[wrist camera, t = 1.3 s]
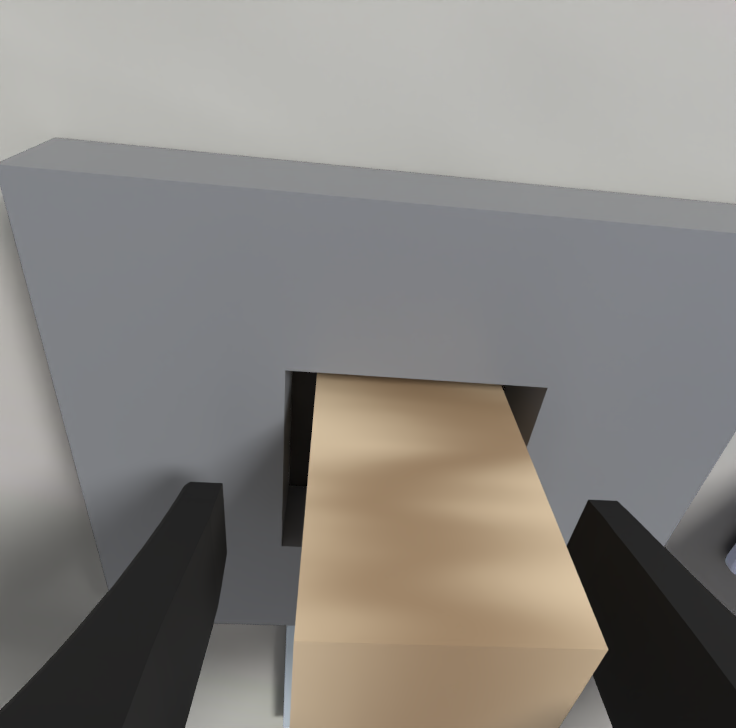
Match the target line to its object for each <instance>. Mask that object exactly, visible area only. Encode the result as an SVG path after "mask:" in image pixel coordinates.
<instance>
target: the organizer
mask: <svg viewBox="0 0 736 728" xmlns="http://www.w3.org/2000/svg"><path fill="white" fill-rule="evenodd" d="M0 187H1V190H2V194H3V198H4V202H5V205H6V209H7V213H8V217H9V220H10V224H11V228H12V232H13V235H14V239H15V243H16V246H17V250H18V254H19V258H20V261H21V265H22V269H23V273H24V276H25V280H26V284H27V288H28V291H29V295H30V299H31V302H32V306H33V310H34V314H35V317H36V321H37V325H38V329H39V332H40V336H41V340H42V344H43V347H44V351H45V355H46V359H47V362H48V366H49V370H50V373H51V377H52V381H53V385H54V388H55V392H56V396H57V400H58V403H59V407H60V411H61V415H62V418H63V422H64V426H65V429H66V433H67V437H68V441H69V444H70V448H71V452H72V456H73V459H74V463H75V467H76V471H77V474H78V478H79V482H80V486H81V489H82V493H83V497H84V500H85V504H86V508H87V512H88V515H89V519H90V523H91V527H92V530H93V534H94V538H95V542H96V545H97V549H98V553H99V556H100V560H101V564H102V568H103V571H104V575H105V579H106V583H107V586H108V590H110V589H111V588H112V586H113V585H114V584H115V583H116V581H117V580H118V579H119V577H120V576H121V575H122V573H123V572H124V571H125V570H126V568H127V567H128V566H129V564H130V563H131V562H132V560H133V559H134V558H135V556H136V555H137V554H138V553H139V551H140V550H141V549H142V547H143V546H144V545H145V543H146V542H147V540H148V539H149V538H150V536H151V535H152V533H153V532H154V531H155V529H156V528H157V526H158V525H159V524H160V522H161V521H162V519H163V518H164V516H165V515H166V513H167V512H168V510H169V509H170V507H171V506H172V504H173V503H174V501H175V500H176V498H177V496H178V495H179V493H180V492H181V490H182V488H183V487H184V485H186V484H187V483H189V482H209V483H223V497H224V512H225V528H226V543H227V557H226V563H225V569H224V575H223V581H222V587H221V593H220V599H219V604H218V609H217V613H216V616H215V620H214V623H216V624H253V625H289V626H295V621H296V609H297V598H298V586H299V575H300V563H301V552H302V540H303V529H304V517H305V506H306V494H307V487H306V486H289V467H290V433H291V400H292V371H302V372H317V373H332V374H348V375H363V376H378V377H393V378H408V379H423V380H439V381H454V382H469V383H484V384H499V385H506V388H505V392H504V394H505V396H506V399H507V401H508V403H509V406H510V408H511V411H512V413H513V416H514V418H515V421H516V423H517V426H518V428H519V431H520V433H521V435H522V438H523V440H524V443H525V445H526V448H527V450H528V453H529V455H530V458H531V460H532V463H533V465H534V468H535V470H536V472H537V475H538V477H539V480H540V482H541V485H542V487H543V490H544V492H545V495H546V497H547V500H548V502H549V505H550V507H551V509H552V512H553V514H554V517H555V519H556V522H557V524H558V527H559V529H560V532H561V534H562V537H563V539H564V541H565V544H566V546H567V544H568V542H569V540H570V538H571V535H572V533H573V531H574V529H575V527H576V525H577V523H578V520H579V518H580V516H581V514H582V512H583V510H584V508H585V505H586V503H587V501H588V500H611V501H618V502H619V503H620V504H621V505H622V506H623V507H624V508H626V509H627V510H628V511H629V512H630V513H631V514H632V515H633V516H634V517H635V518H636V519H637V520H638V521H639V522H640V523H641V524H642V525H643V526H644V527H645V528H646V529H647V530H648V531H649V532H650V533H651V534H652V535H653V536H654V537H655V538H656V539H657V540H658V541H659V542H660V543H661V544H662V545H663V546H665V544H666V543H667V541H668V539H669V538H670V536H671V535H672V533H673V531H674V530H675V528H676V527H677V525H678V523H679V522H680V520H681V518H682V517H683V515H684V514H685V512H686V510H687V509H688V507H689V506H690V504H691V502H692V501H693V499H694V498H695V496H696V494H697V493H698V491H699V489H700V488H701V486H702V485H703V483H704V481H705V480H706V478H707V477H708V475H709V473H710V472H711V470H712V468H713V467H714V465H715V464H716V462H717V460H718V459H719V457H720V456H721V454H722V452H723V451H724V449H725V448H726V446H727V444H728V443H729V441H730V439H731V438H732V436H733V435H734V433H735V431H736V204H728V203H718V202H708V201H697V200H687V199H677V198H667V197H656V196H646V195H636V194H626V193H615V192H605V191H595V190H585V189H575V188H564V187H554V186H544V185H534V184H523V183H513V182H503V181H493V180H483V179H472V178H462V177H452V176H442V175H431V174H421V173H411V172H401V171H391V170H380V169H370V168H360V167H350V166H339V165H329V164H319V163H309V162H298V161H288V160H278V159H268V158H258V157H247V156H237V155H227V154H217V153H206V152H196V151H186V150H176V149H166V148H155V147H145V146H135V145H125V144H114V143H104V142H94V141H84V140H73V139H63V138H53V139H51V140H48V141H46V142H44V143H42V144H39V145H37V146H35V147H33V148H30V149H28V150H26V151H23V152H21V153H19V154H17V155H14V156H12V157H10V158H8V159H5V160H3V161H1V162H0Z"/></svg>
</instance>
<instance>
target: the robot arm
mask: <svg viewBox="0 0 736 728" xmlns="http://www.w3.org/2000/svg"><path fill="white" fill-rule="evenodd" d="M567 549H568V551H569V554H570V556H571V559H572V561H573V564H574V566H575V569H576V571H577V574H578V576H579V578H580V581H581V583H582V586H583V588H584V591H585V593H586V596H587V598H588V601H589V603H590V606H591V608H592V611H593V613H594V615H595V618H596V620H597V623H598V625H599V628H600V630H601V633H602V635H603V638H604V640H605V643H606V645H607V647H608V651H607V653H606V654H605V656H604V657H603V659H602V661H601V662H600V664H599V665H598V667H597V669H596V670H595V672H594V673H593V677H594V679H595V682H596V685H597V687H598V690H599V693H600V695H601V698H602V700H603V703H604V706H605V708H606V711H607V714H608V716H609V719H610V721H611V724H612V727H613V728H736V617H735V616H734V615H733V614H732V613H731V612H730V611H729V610H728V609H727V608H726V607H725V606H724V605H723V604H722V603H721V602H719V601H718V600H717V599H716V598H715V597H714V596H713V595H712V594H711V593H710V592H709V591H708V590H707V589H706V588H705V587H704V586H703V585H702V584H701V583H700V582H699V581H698V580H697V579H696V578H695V577H694V576H693V575H692V574H691V573H690V572H689V571H688V570H687V569H686V568H685V567H684V566H683V565H682V564H681V563H680V562H679V561H678V560H677V559H676V558H675V557H674V556H673V555H672V554H671V553H670V552H669V551H668V550H667V549H666V548H665V547H664V546H663V545H662V544H661V543H660V542H659V541H658V540H657V539H656V538H655V537H654V536H653V535H652V534H651V533H650V532H649V531H648V530H647V529H646V528H645V527H644V526H643V525H642V524H641V523H640V522H639V521H638V520H637V519H636V518H635V517H634V516H633V515H632V514H631V513H630V512H629V511H628V510H627V509H626V508H624V507H623V506H622V505H621V504H620V503H619V502H618V501H611V500H588V501H587V503H586V505H585V508H584V510H583V512H582V514H581V516H580V518H579V520H578V523H577V525H576V527H575V529H574V531H573V533H572V535H571V538H570V540H569V542H568V544H567ZM226 557H227V543H226V528H225V512H224V497H223V483H209V482H189V483H187V484H186V485H184V487H183V488H182V490H181V492H180V493H179V495H178V496H177V498H176V500H175V501H174V503H173V504H172V506H171V507H170V509H169V510H168V512H167V513H166V515H165V516H164V518H163V519H162V521H161V522H160V524H159V525H158V526H157V528H156V529H155V531H154V532H153V533H152V535H151V536H150V538H149V539H148V540H147V542H146V543H145V545H144V546H143V547H142V549H141V550H140V551H139V553H138V554H137V555H136V556H135V558H134V559H133V560H132V562H131V563H130V564H129V566H128V567H127V568H126V570H125V571H124V572H123V573H122V575H121V576H120V577H119V579H118V580H117V581H116V583H115V584H114V585H113V586H112V588H111V589H110V590H109V591H108V592H107V594H106V595H105V596H104V597H103V598H102V600H101V601H100V602H99V603H98V604H97V605H96V607H95V608H94V609H93V610H92V611H91V613H90V614H89V615H88V616H87V617H86V619H85V620H84V621H83V622H82V623H81V624H80V626H79V627H78V628H77V629H76V630H75V632H74V633H73V634H72V635H71V636H70V637H69V638H68V639H67V641H66V642H65V643H64V644H63V645H62V646H61V647H60V648H59V649H58V651H57V652H56V653H55V654H54V655H53V656H52V657H51V658H50V659H49V660H48V661H47V663H46V664H45V665H44V666H43V667H42V668H41V669H40V670H39V671H38V672H37V673H36V674H35V675H34V676H33V677H32V678H31V679H30V680H29V682H28V683H27V684H26V685H25V686H24V687H23V688H22V689H21V690H20V691H19V692H18V693H17V694H16V695H15V696H14V697H13V698H12V699H11V700H10V701H9V702H8V703H7V704H6V705H5V706H4V707H3V708H2V709H1V710H0V728H185V725H186V722H187V718H188V714H189V711H190V707H191V704H192V700H193V696H194V693H195V689H196V686H197V682H198V678H199V675H200V671H201V667H202V664H203V660H204V657H205V653H206V649H207V646H208V642H209V638H210V635H211V631H212V627H213V624H214V620H215V616H216V613H217V609H218V604H219V599H220V593H221V587H222V581H223V575H224V569H225V563H226ZM725 563H726V565H727V566H728V568H729V569H730V571H731V572H732V573H734V574H736V543H735V545H734V546H733V548H732V549H731V550H730V552H729V553H728V554H727V556H726V559H725Z"/></svg>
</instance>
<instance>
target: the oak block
mask: <svg viewBox="0 0 736 728" xmlns="http://www.w3.org/2000/svg"><path fill="white" fill-rule="evenodd" d="M607 651H608V647H607V645H606V643H605V640H604V638H603V635H602V633H601V630H600V628H599V625H598V623H597V620H596V618H595V615H594V613H593V611H592V608H591V606H590V603H589V601H588V598H587V596H586V593H585V591H584V588H583V586H582V583H581V581H580V578H579V576H578V574H577V571H576V569H575V566H574V564H573V561H572V559H571V556H570V554H569V551H568V549H567V546H566V544H565V541H564V539H563V537H562V534H561V532H560V529H559V527H558V524H557V522H556V519H555V517H554V514H553V512H552V509H551V507H550V505H549V502H548V500H547V497H546V495H545V492H544V490H543V487H542V485H541V482H540V480H539V477H538V475H537V472H536V470H535V468H534V465H533V463H532V460H531V458H530V455H529V453H528V450H527V448H526V445H525V443H524V440H523V438H522V435H521V433H520V431H519V428H518V426H517V423H516V421H515V418H514V416H513V413H512V411H511V408H510V406H509V403H508V401H507V399H506V396H505V394H504V391H503V389H502V386H501V385H499V384H484V383H469V382H454V381H439V380H423V379H408V378H393V377H378V376H363V375H348V374H332V373H317V380H316V391H315V403H314V414H313V426H312V437H311V448H310V460H309V471H308V483H307V494H306V506H305V517H304V529H303V540H302V552H301V563H300V575H299V586H298V598H297V609H296V621H295V632H294V646H293V667H292V688H291V709H290V728H559V727H560V725H561V724H562V722H563V721H564V719H565V717H566V716H567V714H568V713H569V711H570V709H571V708H572V706H573V705H574V703H575V702H576V700H577V698H578V697H579V695H580V694H581V692H582V691H583V689H584V687H585V686H586V684H587V683H588V681H589V680H590V678H591V676H592V675H593V673H594V672H595V670H596V669H597V667H598V665H599V664H600V662H601V661H602V659H603V657H604V656H605V654H606V653H607Z"/></svg>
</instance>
